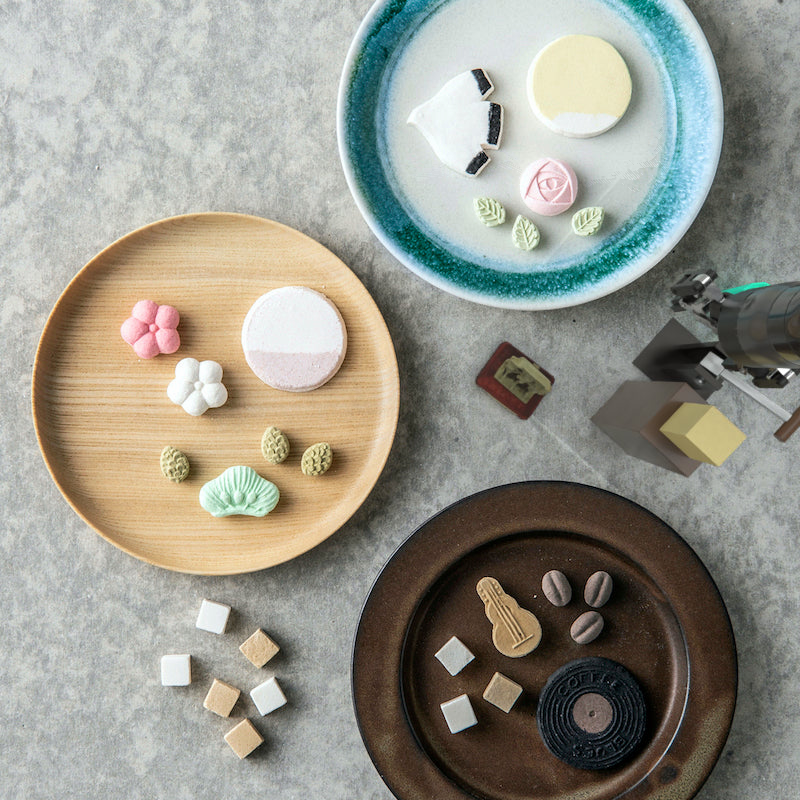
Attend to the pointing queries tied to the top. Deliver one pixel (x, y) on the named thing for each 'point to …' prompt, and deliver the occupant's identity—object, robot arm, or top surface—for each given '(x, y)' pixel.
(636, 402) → the stand
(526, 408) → the sculpture
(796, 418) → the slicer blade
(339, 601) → the top surface
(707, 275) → the robot arm
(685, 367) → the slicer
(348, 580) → the top surface
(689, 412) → the butter
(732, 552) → the top surface
